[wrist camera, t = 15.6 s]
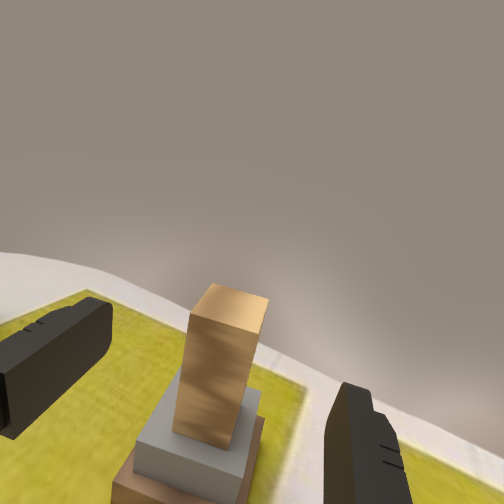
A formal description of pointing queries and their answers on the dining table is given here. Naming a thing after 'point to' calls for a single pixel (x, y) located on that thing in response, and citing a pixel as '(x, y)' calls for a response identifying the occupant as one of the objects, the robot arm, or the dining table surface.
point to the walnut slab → (166, 497)
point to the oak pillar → (217, 364)
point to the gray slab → (195, 451)
